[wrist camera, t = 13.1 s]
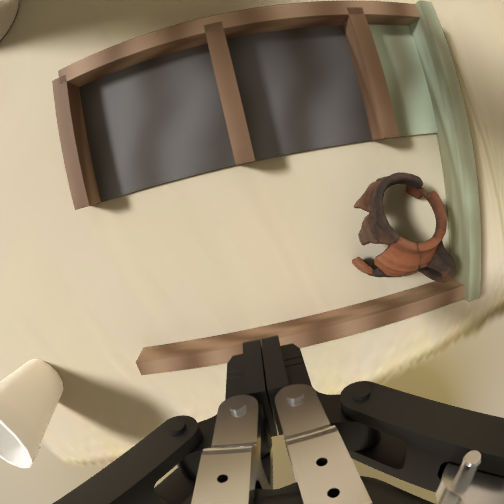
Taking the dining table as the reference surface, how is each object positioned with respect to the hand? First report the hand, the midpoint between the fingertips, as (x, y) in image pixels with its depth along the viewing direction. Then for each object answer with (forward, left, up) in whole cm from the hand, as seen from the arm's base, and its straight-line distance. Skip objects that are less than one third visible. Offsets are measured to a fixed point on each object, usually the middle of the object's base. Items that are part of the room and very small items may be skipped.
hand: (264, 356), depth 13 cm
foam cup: (-31, -11, -18) cm, 37 cm away
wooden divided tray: (+4, +6, -18) cm, 19 cm away
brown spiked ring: (+14, -1, -18) cm, 23 cm away
